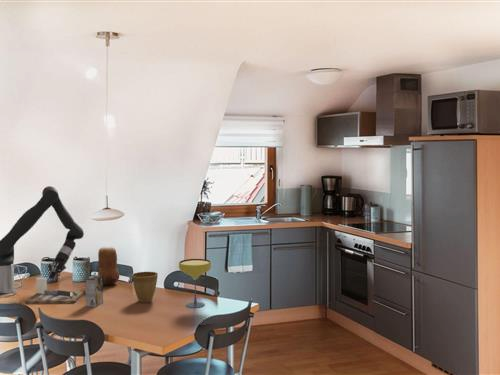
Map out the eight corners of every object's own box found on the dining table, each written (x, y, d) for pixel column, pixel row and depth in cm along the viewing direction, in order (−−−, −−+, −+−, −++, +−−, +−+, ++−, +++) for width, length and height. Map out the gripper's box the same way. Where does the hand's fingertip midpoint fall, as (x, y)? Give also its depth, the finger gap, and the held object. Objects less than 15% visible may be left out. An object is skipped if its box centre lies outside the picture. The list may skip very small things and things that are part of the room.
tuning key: (72, 295, 323) (71, 280, 322) (67, 297, 319) (67, 282, 318) (40, 291, 332) (39, 277, 332) (35, 293, 329) (34, 278, 328)
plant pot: (163, 299, 324) (162, 272, 322) (148, 305, 310) (147, 278, 309) (142, 296, 330) (142, 270, 329) (127, 302, 316) (126, 275, 315)
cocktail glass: (175, 302, 316) (175, 260, 314) (205, 299, 323) (205, 257, 321) (184, 311, 299) (184, 266, 297) (215, 307, 306) (215, 263, 304)
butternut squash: (110, 281, 367) (109, 244, 365) (123, 283, 360) (122, 246, 358) (93, 285, 356) (92, 247, 354) (106, 288, 348) (106, 249, 346)
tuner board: (25, 303, 315) (25, 299, 314) (38, 294, 335) (38, 290, 334) (74, 303, 316) (74, 298, 315) (84, 293, 336) (84, 289, 335)
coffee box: (93, 301, 318) (92, 274, 317) (103, 302, 317) (102, 275, 316) (85, 306, 309) (84, 278, 308) (95, 307, 308) (95, 279, 307)
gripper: (52, 250, 346) (38, 274, 336) (69, 252, 341) (55, 275, 330) (58, 257, 351) (45, 280, 341) (75, 258, 346) (62, 282, 336)
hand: (50, 278), depth 336 cm, fingers closed
